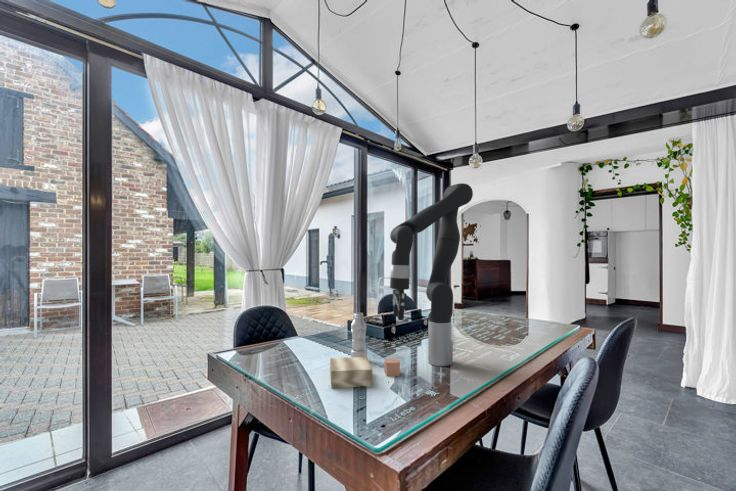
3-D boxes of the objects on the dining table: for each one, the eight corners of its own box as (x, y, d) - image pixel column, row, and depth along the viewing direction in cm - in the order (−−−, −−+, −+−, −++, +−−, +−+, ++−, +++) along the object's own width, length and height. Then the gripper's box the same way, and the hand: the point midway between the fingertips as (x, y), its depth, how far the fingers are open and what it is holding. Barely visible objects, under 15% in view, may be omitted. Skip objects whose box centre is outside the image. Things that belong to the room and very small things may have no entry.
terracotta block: (397, 371, 132) (397, 358, 132) (399, 376, 127) (399, 362, 127) (384, 371, 131) (384, 358, 131) (386, 376, 126) (386, 362, 126)
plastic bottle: (364, 364, 139) (365, 315, 140) (348, 363, 141) (349, 314, 141) (368, 359, 146) (368, 312, 146) (352, 358, 147) (352, 311, 147)
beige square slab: (367, 372, 131) (367, 356, 131) (372, 387, 117) (372, 369, 117) (330, 374, 129) (330, 358, 129) (331, 389, 115) (331, 371, 115)
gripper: (413, 278, 128) (412, 321, 128) (405, 275, 142) (403, 314, 142) (394, 277, 127) (392, 321, 127) (387, 275, 141) (385, 314, 141)
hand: (398, 317), depth 134 cm, fingers open, 8 cm apart
